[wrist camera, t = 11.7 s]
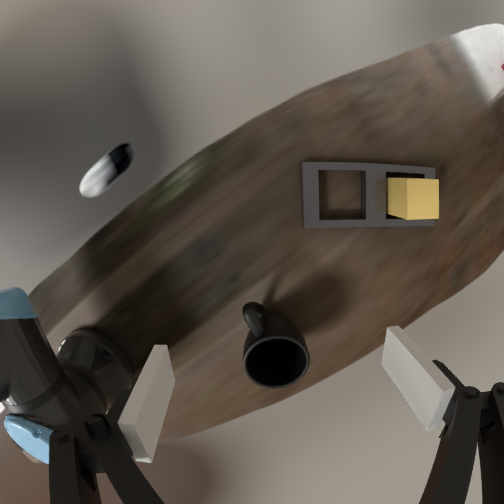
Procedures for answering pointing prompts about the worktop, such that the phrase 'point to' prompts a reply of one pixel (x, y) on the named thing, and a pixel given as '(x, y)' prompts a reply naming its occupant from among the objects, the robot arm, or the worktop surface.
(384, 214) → the frame with square openings
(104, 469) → the robot arm
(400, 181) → the yellow block
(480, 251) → the worktop surface
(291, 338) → the mug
